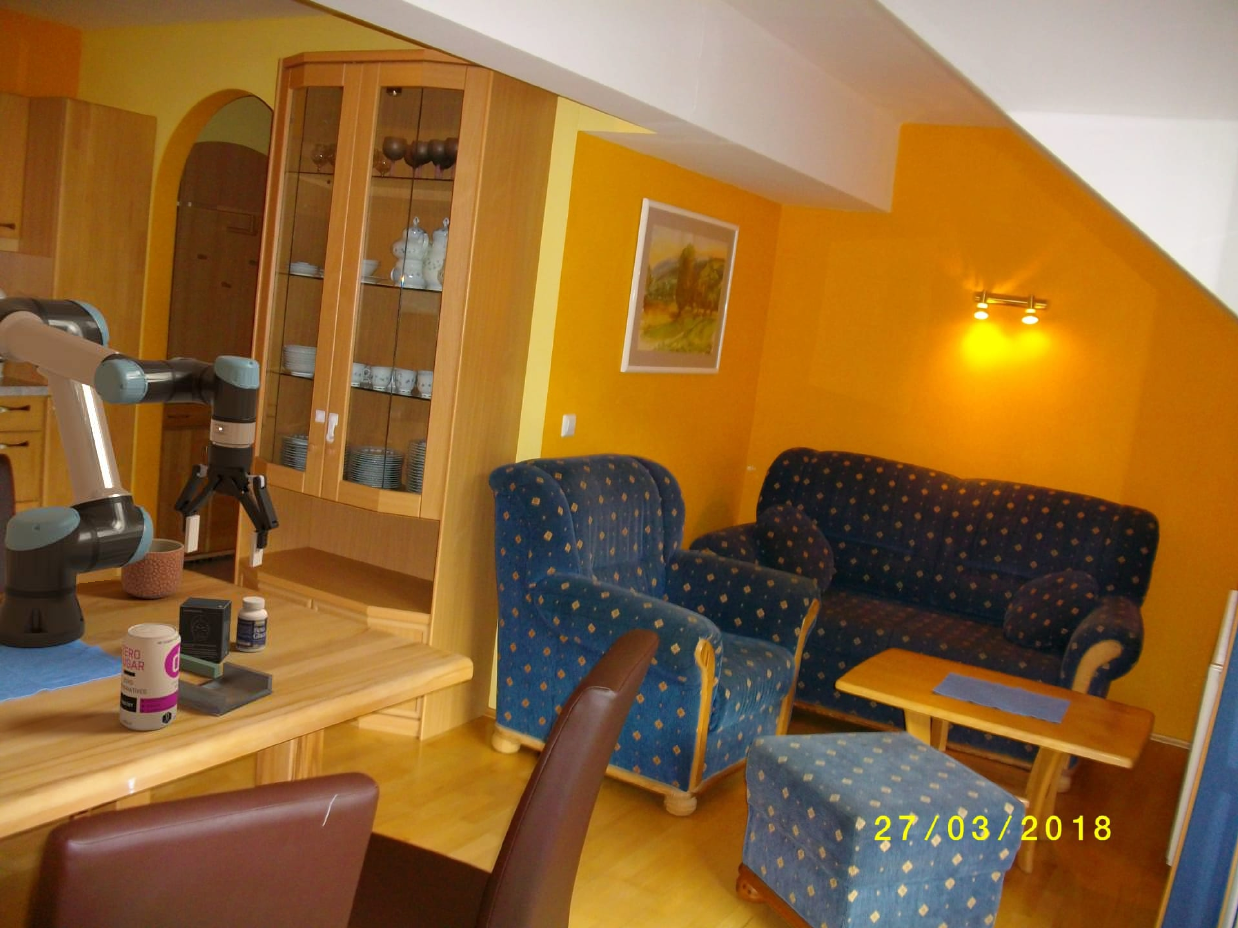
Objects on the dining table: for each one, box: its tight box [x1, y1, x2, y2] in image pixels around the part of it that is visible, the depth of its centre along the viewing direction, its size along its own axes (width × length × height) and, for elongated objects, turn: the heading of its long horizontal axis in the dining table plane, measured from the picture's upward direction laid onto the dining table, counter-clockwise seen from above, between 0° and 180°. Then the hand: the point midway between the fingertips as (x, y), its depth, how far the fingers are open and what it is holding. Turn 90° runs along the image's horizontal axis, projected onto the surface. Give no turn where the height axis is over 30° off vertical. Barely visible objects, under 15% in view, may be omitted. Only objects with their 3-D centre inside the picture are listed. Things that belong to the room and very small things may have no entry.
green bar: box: [179, 653, 222, 679], centre depth 187 cm, size 14×2×2 cm, turn 68°
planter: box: [120, 538, 185, 600], centre depth 224 cm, size 12×12×11 cm
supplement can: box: [118, 622, 181, 732], centre depth 163 cm, size 8×8×15 cm
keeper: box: [177, 661, 274, 717], centre depth 176 cm, size 10×13×3 cm
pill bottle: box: [235, 596, 268, 653], centre depth 199 cm, size 5×5×10 cm
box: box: [178, 597, 233, 664], centre depth 192 cm, size 8×6×11 cm
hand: (222, 558), depth 190 cm, fingers open, 13 cm apart
